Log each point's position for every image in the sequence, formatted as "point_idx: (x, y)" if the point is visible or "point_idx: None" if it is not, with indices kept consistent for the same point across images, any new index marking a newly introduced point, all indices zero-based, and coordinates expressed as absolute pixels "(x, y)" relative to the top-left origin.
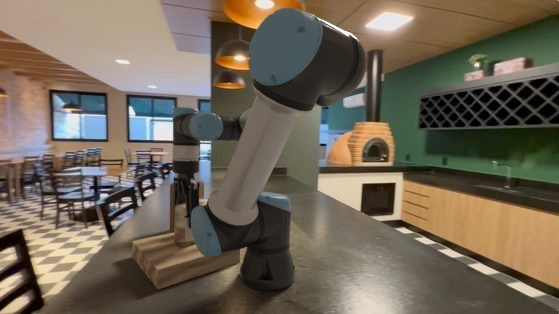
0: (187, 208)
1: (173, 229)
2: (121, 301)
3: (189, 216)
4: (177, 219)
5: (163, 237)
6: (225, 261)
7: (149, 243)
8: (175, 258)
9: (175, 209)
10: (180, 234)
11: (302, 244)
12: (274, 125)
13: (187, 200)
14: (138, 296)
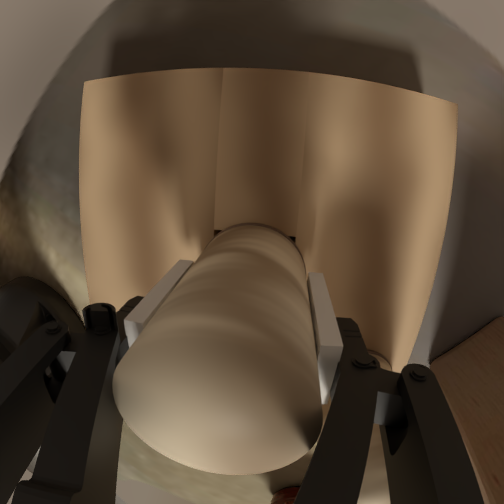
0: (75, 365)
1: (497, 330)
2: (132, 9)
3: (93, 331)
4: (203, 276)
5: (407, 232)
6: None
7: (378, 142)
8: (121, 160)
9: (223, 318)
10: (205, 250)
11: (147, 474)
12: None
13: (52, 426)
14: (123, 43)
